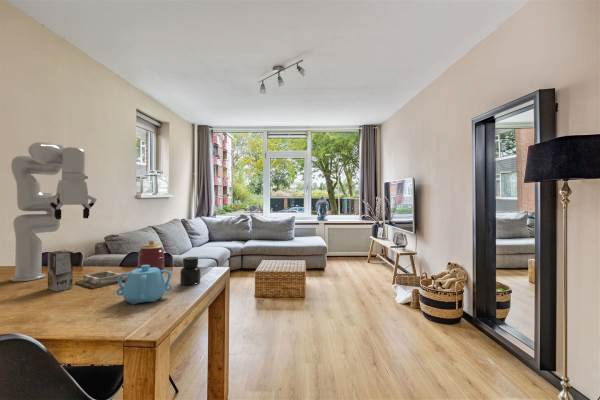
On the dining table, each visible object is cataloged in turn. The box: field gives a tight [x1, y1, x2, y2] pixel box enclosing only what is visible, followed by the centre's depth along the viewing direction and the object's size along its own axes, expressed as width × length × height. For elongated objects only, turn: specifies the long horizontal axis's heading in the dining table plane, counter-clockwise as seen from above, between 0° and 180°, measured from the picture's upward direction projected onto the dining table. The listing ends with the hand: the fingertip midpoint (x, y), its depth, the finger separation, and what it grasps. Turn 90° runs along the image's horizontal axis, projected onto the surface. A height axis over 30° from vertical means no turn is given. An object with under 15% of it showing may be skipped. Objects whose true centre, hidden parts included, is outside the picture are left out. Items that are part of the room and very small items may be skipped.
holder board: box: [75, 270, 128, 290], centre depth 140 cm, size 16×16×4 cm
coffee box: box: [47, 249, 74, 292], centre depth 129 cm, size 9×6×16 cm
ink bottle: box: [179, 256, 201, 286], centre depth 140 cm, size 10×9×12 cm
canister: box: [137, 240, 165, 271], centre depth 159 cm, size 13×13×18 cm
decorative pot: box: [115, 265, 173, 305], centre depth 116 cm, size 16×16×14 cm
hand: (72, 218), depth 122 cm, fingers open, 9 cm apart
